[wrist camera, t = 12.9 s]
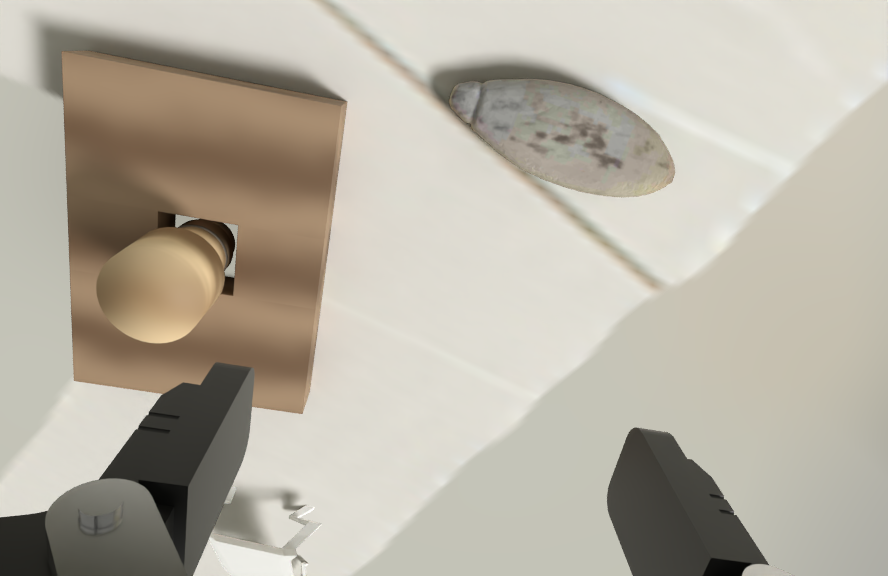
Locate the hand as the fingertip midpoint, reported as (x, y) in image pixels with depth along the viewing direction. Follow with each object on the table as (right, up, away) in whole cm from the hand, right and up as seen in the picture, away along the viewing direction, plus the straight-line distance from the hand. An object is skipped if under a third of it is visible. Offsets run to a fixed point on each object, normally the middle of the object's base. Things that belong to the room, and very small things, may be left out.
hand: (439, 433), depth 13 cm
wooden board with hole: (-16, +6, +29) cm, 34 cm away
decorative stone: (+8, +13, +28) cm, 32 cm away
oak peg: (-16, +6, +29) cm, 34 cm away
